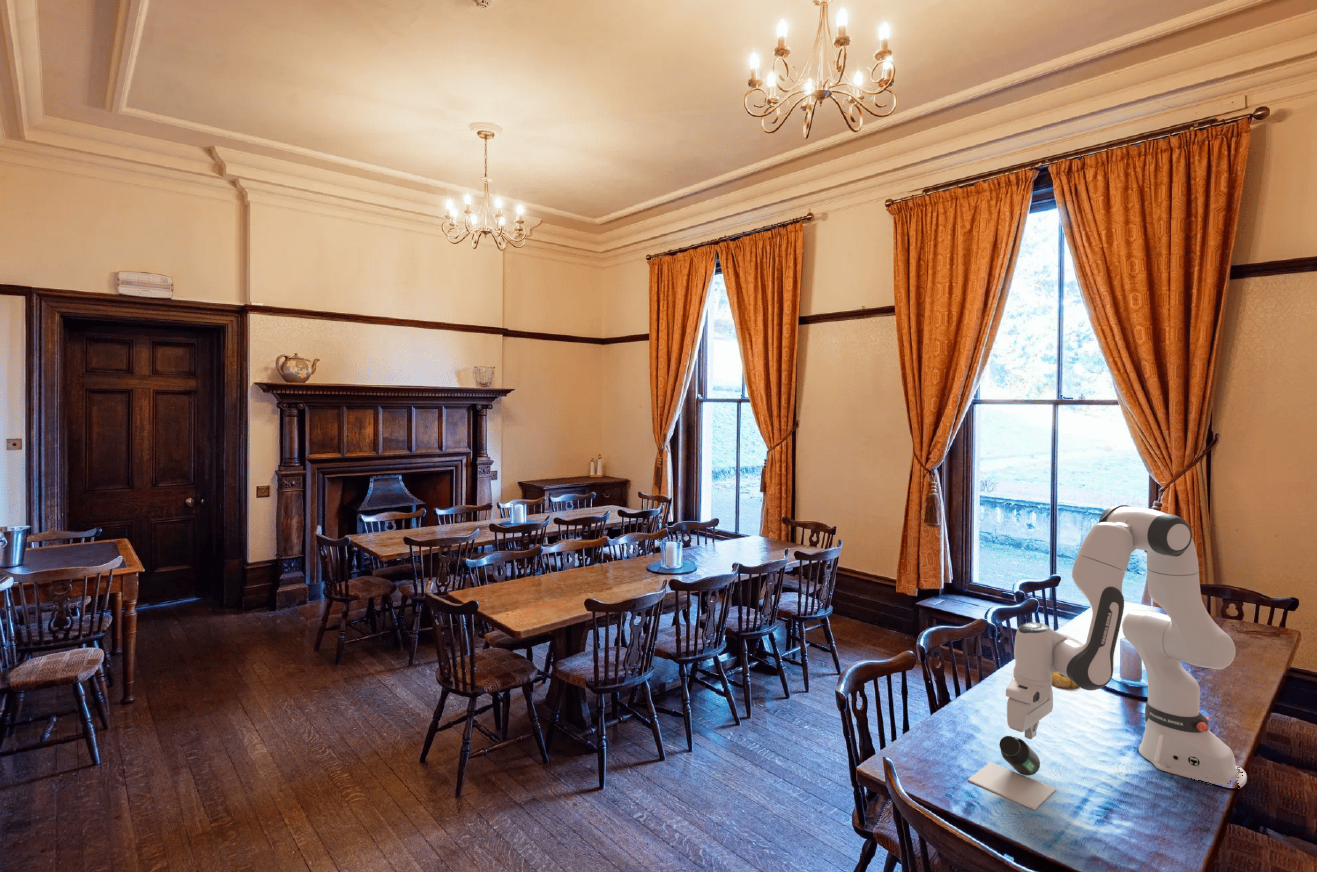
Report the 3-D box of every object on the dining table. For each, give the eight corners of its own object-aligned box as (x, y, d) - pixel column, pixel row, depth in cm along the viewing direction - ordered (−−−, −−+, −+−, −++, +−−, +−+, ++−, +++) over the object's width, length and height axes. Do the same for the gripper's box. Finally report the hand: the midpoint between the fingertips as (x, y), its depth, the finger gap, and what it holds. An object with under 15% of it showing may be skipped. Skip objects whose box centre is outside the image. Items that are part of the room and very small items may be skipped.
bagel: (1042, 683, 229) (1042, 670, 228) (1050, 675, 236) (1051, 662, 236) (1075, 692, 222) (1076, 679, 221) (1083, 683, 230) (1083, 670, 229)
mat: (1056, 790, 164) (1056, 788, 164) (1034, 810, 156) (1034, 808, 156) (990, 763, 177) (990, 761, 177) (967, 780, 169) (967, 779, 169)
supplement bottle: (1044, 774, 168) (1027, 757, 163) (1016, 778, 172) (998, 761, 166) (1036, 746, 173) (1019, 729, 167) (1009, 751, 177) (992, 733, 171)
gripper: (1035, 672, 182) (1033, 720, 182) (1002, 691, 169) (1001, 744, 170) (1060, 679, 177) (1058, 729, 178) (1028, 700, 164) (1027, 754, 165)
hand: (1030, 736), depth 173 cm, fingers closed
